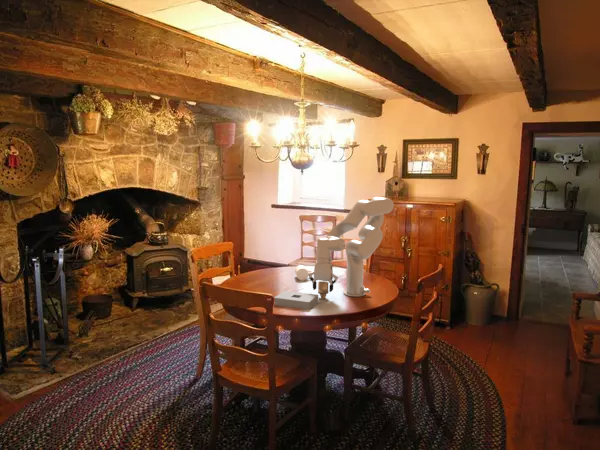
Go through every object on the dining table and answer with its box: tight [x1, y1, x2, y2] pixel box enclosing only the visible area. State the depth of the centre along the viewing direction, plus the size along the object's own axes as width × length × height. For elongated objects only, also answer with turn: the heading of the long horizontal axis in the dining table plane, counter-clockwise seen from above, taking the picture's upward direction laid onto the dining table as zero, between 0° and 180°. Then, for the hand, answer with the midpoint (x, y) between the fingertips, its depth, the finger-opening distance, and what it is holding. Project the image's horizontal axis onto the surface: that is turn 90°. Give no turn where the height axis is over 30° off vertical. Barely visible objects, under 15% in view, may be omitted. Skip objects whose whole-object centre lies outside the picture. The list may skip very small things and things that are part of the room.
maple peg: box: [317, 280, 329, 300], centre depth 243 cm, size 6×6×9 cm
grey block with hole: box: [273, 290, 319, 311], centre depth 234 cm, size 20×14×4 cm
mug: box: [294, 264, 314, 281], centre depth 287 cm, size 12×10×8 cm
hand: (322, 290), depth 243 cm, fingers open, 9 cm apart
